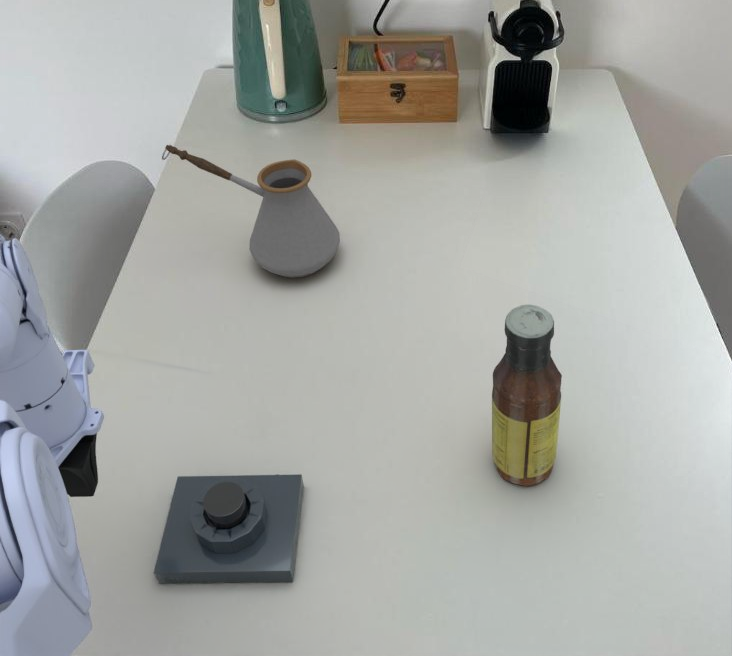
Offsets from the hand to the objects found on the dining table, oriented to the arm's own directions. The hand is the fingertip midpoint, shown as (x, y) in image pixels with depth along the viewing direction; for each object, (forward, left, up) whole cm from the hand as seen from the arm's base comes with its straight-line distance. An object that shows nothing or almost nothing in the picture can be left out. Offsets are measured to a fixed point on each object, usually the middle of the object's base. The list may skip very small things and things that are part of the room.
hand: (84, 489), depth 67 cm
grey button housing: (+7, -8, -10) cm, 15 cm away
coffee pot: (+41, +15, -11) cm, 45 cm away
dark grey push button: (+7, -8, -7) cm, 13 cm away
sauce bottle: (+27, -28, -11) cm, 40 cm away
